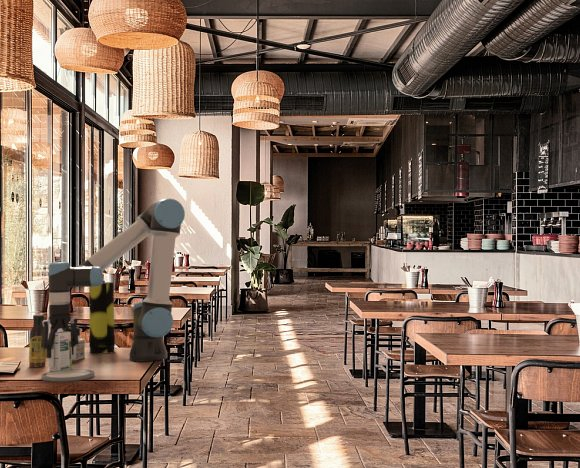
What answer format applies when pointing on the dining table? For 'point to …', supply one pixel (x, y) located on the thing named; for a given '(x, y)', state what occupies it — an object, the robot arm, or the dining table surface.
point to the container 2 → (102, 318)
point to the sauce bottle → (36, 344)
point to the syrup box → (62, 351)
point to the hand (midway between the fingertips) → (60, 365)
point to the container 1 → (78, 347)
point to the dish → (67, 375)
